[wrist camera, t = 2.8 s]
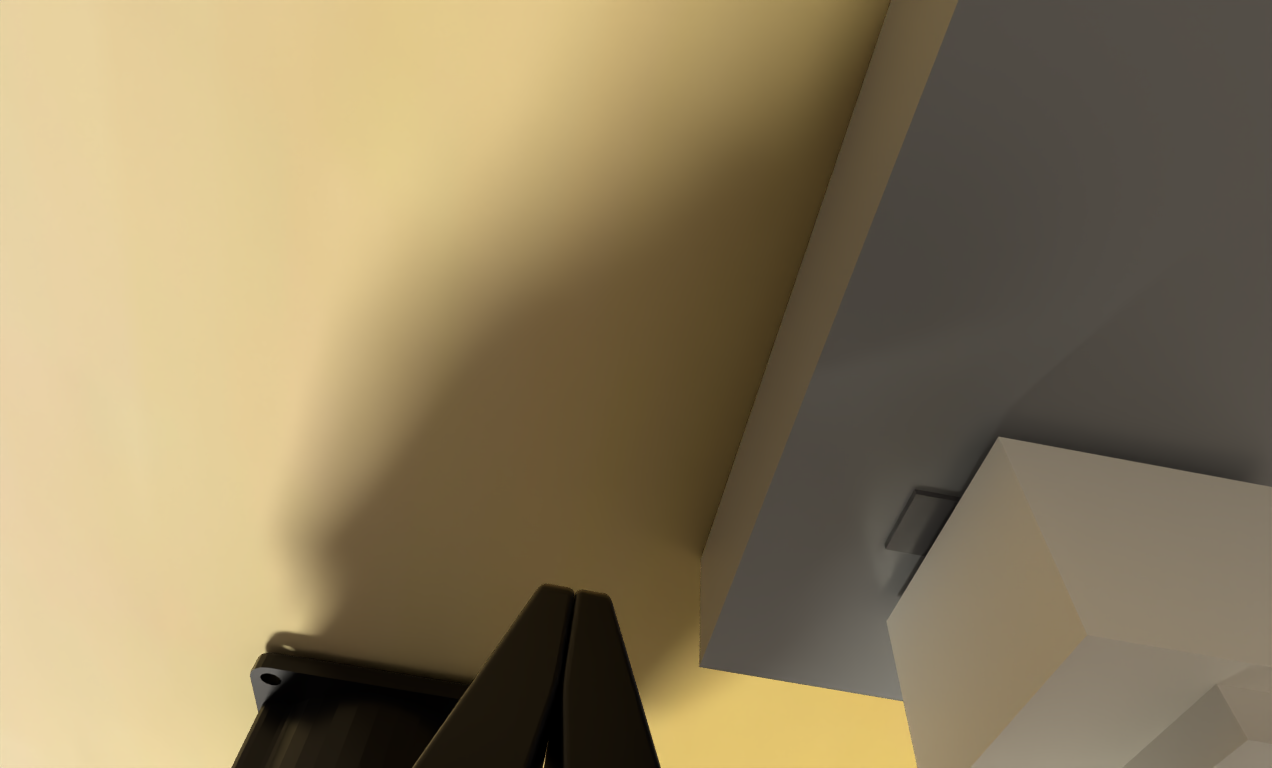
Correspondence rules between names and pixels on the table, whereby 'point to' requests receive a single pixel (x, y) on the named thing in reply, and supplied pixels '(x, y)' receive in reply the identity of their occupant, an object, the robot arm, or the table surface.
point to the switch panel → (1000, 303)
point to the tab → (1091, 619)
